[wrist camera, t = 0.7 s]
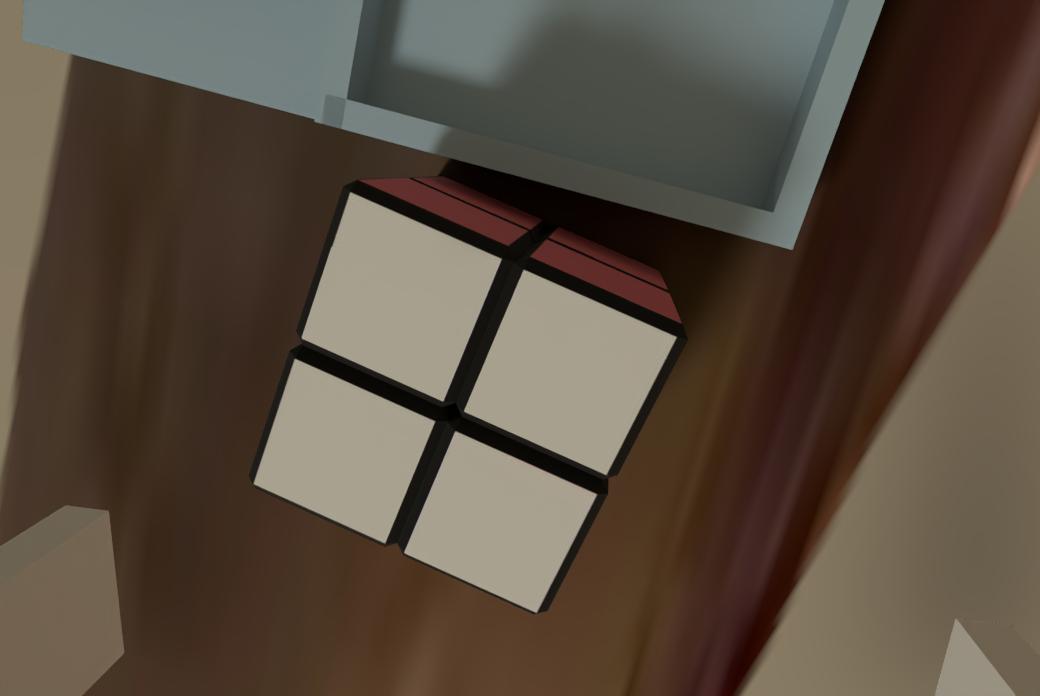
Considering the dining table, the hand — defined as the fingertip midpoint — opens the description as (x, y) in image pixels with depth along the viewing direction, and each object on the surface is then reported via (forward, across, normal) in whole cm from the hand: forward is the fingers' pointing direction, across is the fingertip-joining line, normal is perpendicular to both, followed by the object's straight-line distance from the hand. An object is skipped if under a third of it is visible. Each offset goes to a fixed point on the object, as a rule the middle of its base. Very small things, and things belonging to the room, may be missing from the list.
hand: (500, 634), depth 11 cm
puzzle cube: (+19, -3, 0) cm, 19 cm away
